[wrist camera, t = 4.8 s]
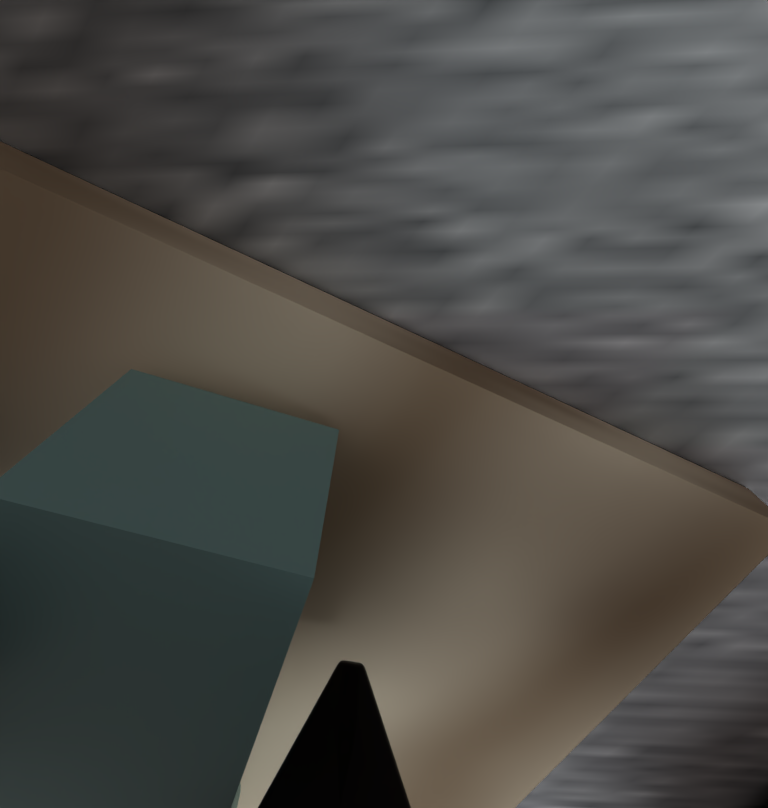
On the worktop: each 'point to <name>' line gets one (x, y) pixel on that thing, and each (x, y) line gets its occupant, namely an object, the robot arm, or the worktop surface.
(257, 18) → the worktop surface
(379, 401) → the board
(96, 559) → the link
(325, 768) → the robot arm
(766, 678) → the worktop surface
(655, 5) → the worktop surface
